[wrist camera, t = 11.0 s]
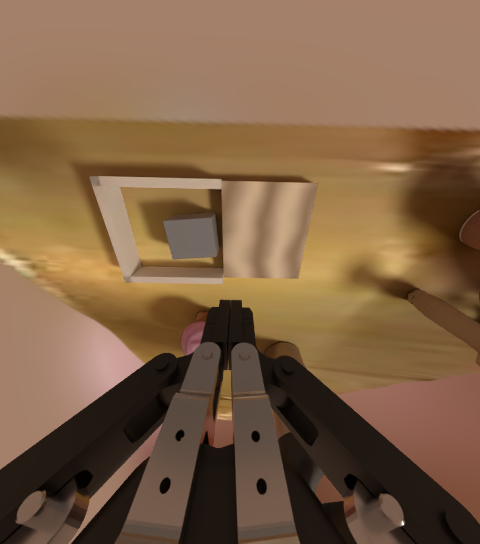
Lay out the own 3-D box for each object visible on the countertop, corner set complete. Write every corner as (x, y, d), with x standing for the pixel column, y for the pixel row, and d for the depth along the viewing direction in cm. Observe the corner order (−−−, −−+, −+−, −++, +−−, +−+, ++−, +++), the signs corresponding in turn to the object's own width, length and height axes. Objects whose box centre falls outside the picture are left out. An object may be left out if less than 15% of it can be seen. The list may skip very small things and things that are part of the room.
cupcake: (227, 302, 38) (223, 339, 29) (230, 330, 42) (227, 371, 33) (186, 303, 38) (170, 341, 29) (193, 332, 42) (181, 372, 33)
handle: (394, 304, 38) (477, 371, 25) (414, 280, 35) (520, 341, 22) (413, 308, 38) (505, 375, 25) (434, 284, 36) (550, 346, 22)
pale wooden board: (313, 182, 27) (318, 183, 25) (295, 273, 34) (298, 278, 32) (222, 180, 26) (221, 180, 25) (224, 272, 34) (223, 277, 32)
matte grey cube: (215, 212, 29) (211, 217, 24) (219, 246, 32) (216, 256, 27) (174, 214, 29) (162, 220, 25) (182, 248, 32) (172, 259, 27)
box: (222, 179, 26) (219, 179, 23) (224, 273, 34) (222, 284, 31) (109, 176, 26) (88, 175, 23) (137, 271, 34) (125, 282, 30)
